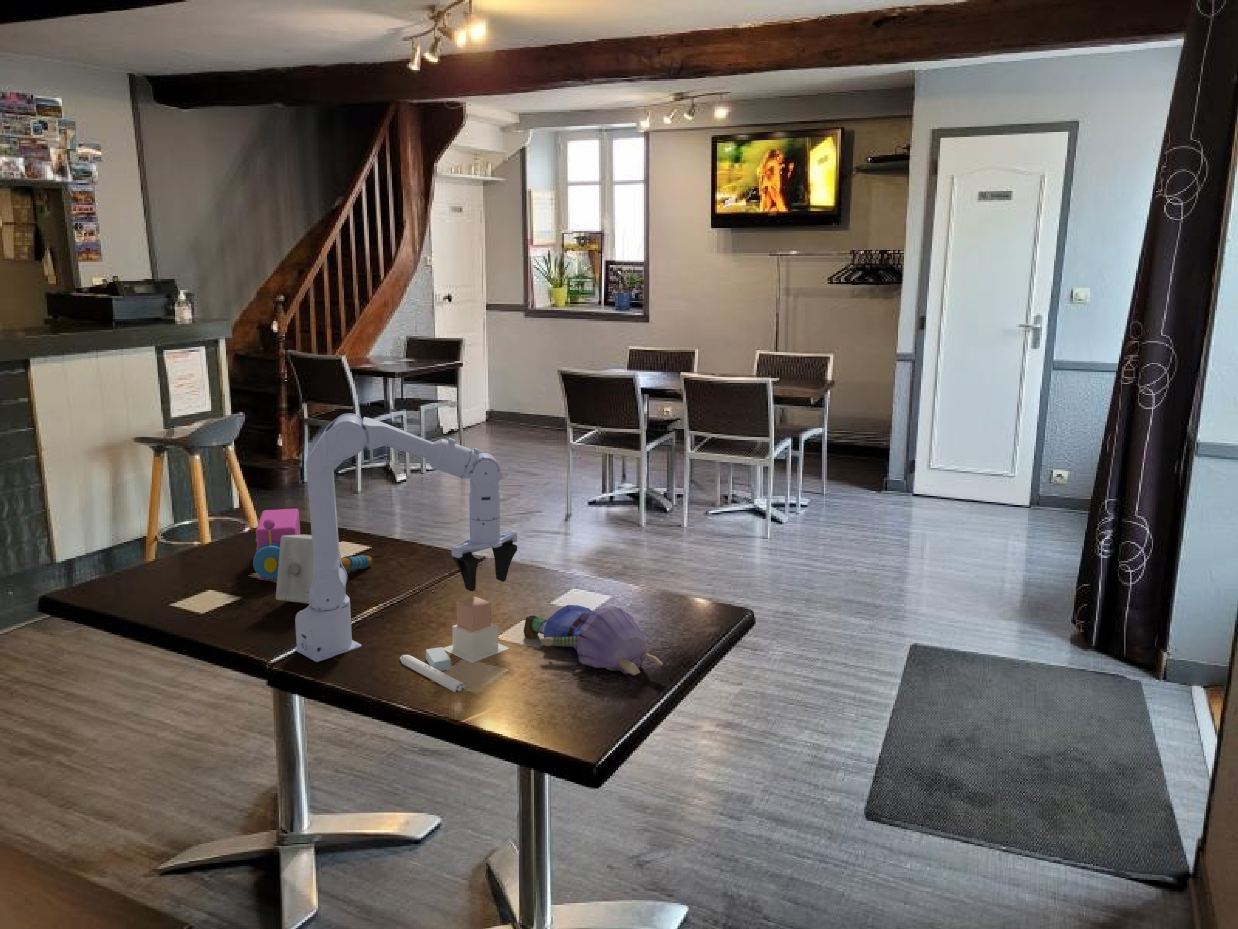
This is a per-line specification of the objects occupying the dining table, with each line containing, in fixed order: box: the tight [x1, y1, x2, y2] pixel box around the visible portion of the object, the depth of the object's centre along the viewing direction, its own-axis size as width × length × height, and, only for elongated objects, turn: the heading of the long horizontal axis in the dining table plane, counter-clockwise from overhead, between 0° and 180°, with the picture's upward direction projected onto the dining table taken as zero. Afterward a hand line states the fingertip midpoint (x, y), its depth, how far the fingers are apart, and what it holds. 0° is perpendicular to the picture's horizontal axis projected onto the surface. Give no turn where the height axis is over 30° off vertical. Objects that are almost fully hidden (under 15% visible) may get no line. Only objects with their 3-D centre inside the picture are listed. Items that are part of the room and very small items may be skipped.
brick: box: [425, 646, 452, 672], centre depth 164 cm, size 6×3×2 cm, turn 25°
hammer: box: [275, 534, 373, 604], centre depth 203 cm, size 8×13×30 cm
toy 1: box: [252, 508, 301, 581], centre depth 214 cm, size 28×9×15 cm, turn 16°
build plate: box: [442, 642, 511, 664], centre depth 171 cm, size 9×9×1 cm
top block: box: [456, 596, 492, 632], centre depth 170 cm, size 4×4×4 cm
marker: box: [399, 654, 466, 693], centre depth 160 cm, size 18×2×2 cm, turn 46°
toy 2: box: [523, 604, 663, 676], centre depth 168 cm, size 18×11×30 cm
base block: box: [451, 622, 499, 658], centre depth 170 cm, size 6×6×4 cm
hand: (485, 584), depth 176 cm, fingers open, 7 cm apart
